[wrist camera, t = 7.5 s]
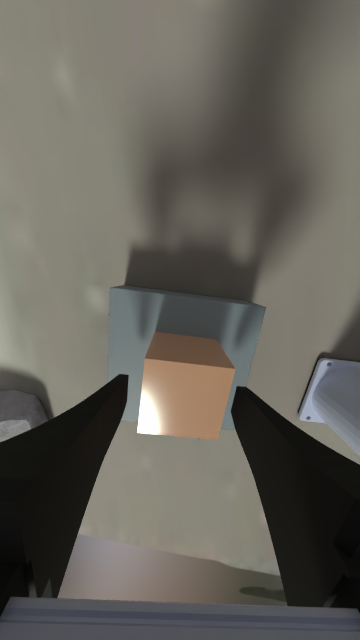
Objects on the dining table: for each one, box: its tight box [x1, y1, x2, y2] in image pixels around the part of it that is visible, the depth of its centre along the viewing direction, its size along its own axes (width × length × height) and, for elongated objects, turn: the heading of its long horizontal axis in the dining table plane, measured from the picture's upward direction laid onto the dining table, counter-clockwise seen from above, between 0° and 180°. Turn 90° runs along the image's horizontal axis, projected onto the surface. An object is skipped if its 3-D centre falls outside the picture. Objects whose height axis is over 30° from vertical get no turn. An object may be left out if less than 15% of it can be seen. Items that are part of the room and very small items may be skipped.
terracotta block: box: [137, 332, 236, 440], centre depth 12 cm, size 5×5×4 cm
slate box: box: [108, 285, 266, 430], centre depth 16 cm, size 12×12×4 cm
